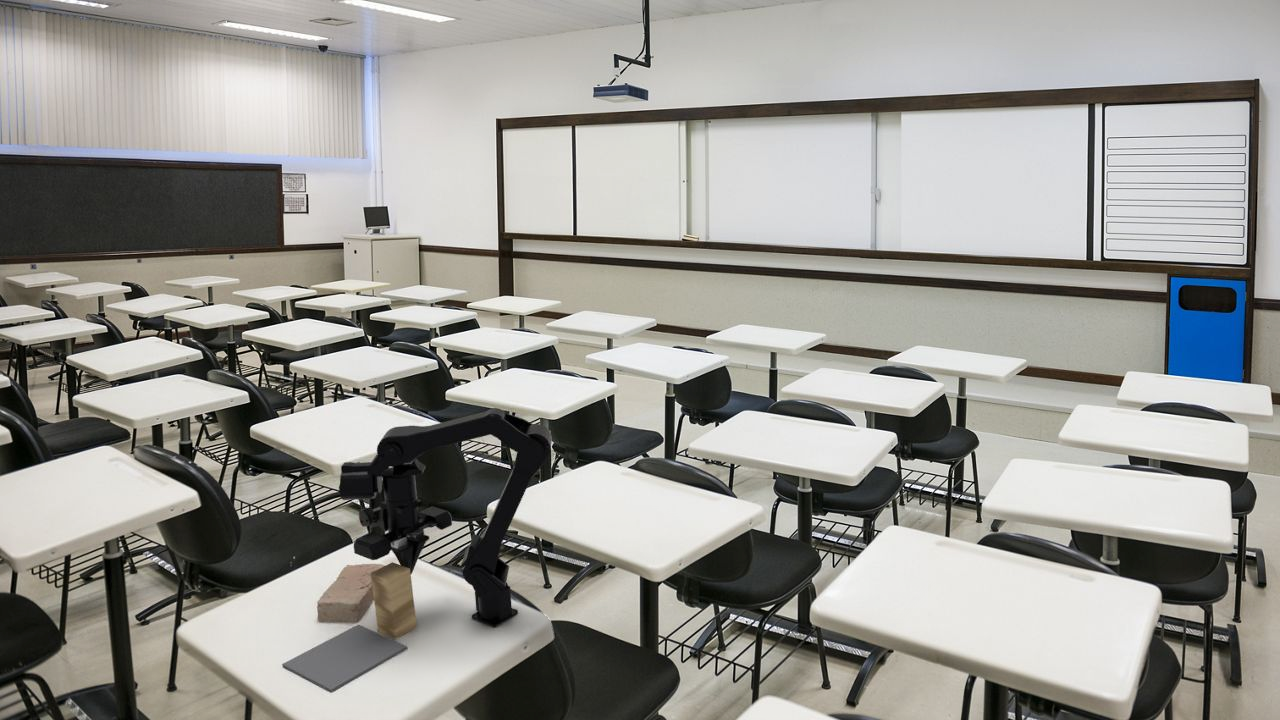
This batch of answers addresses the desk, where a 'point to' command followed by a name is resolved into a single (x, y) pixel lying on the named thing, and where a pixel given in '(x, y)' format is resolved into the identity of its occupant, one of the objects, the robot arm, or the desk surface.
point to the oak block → (393, 600)
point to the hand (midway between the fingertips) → (408, 574)
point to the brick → (348, 595)
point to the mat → (344, 657)
